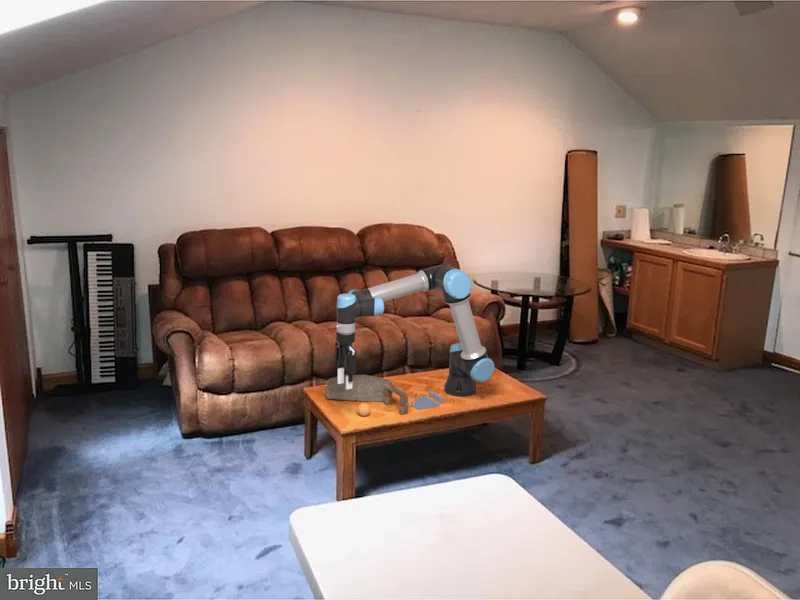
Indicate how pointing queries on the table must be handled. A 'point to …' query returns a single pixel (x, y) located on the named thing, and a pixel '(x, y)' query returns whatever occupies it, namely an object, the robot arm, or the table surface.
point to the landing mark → (424, 403)
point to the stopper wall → (436, 397)
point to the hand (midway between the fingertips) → (344, 385)
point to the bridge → (403, 395)
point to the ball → (363, 409)
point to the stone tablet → (358, 389)
